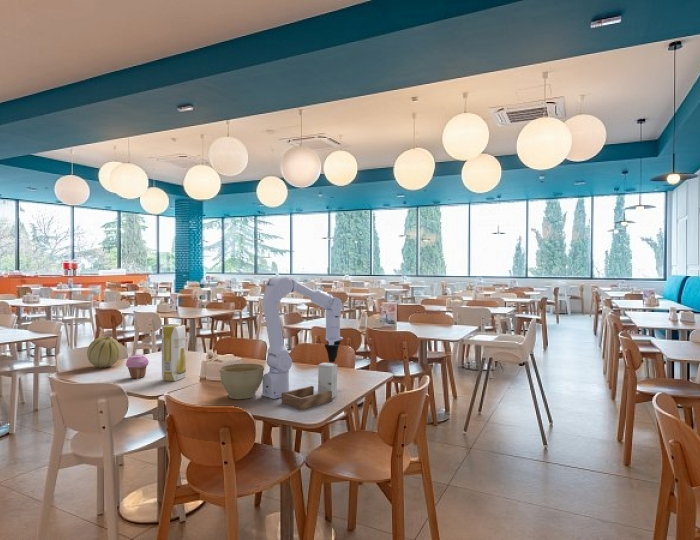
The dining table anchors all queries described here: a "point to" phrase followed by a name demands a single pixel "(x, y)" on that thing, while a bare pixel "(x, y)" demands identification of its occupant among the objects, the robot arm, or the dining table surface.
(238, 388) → the planter bowl
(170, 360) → the juice carton
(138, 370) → the cupcake
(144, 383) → the dining table surface
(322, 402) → the walnut cradle
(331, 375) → the skincare box
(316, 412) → the dining table surface
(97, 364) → the cantaloupe
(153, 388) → the dining table surface
